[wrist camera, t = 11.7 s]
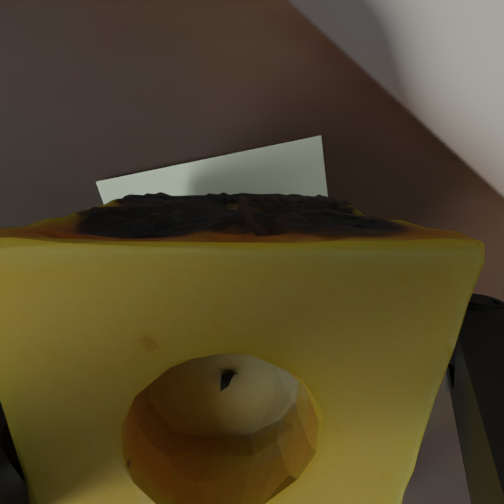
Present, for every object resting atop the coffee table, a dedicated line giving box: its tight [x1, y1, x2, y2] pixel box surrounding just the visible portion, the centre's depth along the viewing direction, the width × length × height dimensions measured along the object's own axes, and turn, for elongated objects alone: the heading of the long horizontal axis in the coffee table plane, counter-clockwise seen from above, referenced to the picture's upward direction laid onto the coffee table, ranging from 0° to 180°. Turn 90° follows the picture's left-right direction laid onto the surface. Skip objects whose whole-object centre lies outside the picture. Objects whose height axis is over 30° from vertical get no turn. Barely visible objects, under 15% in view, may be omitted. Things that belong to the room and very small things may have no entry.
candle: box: [0, 192, 484, 504], centre depth 11 cm, size 10×10×10 cm
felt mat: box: [96, 135, 328, 205], centre depth 18 cm, size 14×14×1 cm
